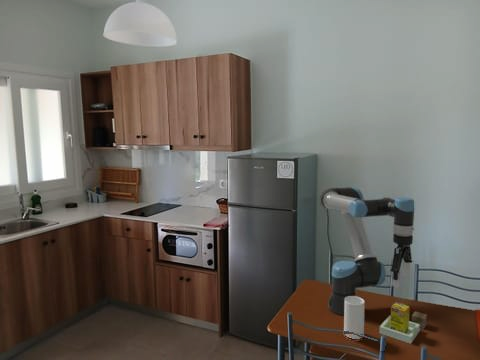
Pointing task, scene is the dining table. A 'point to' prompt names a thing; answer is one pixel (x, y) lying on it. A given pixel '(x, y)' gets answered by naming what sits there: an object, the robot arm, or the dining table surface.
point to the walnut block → (420, 319)
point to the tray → (405, 337)
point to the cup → (354, 316)
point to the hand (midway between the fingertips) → (400, 281)
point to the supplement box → (399, 318)
